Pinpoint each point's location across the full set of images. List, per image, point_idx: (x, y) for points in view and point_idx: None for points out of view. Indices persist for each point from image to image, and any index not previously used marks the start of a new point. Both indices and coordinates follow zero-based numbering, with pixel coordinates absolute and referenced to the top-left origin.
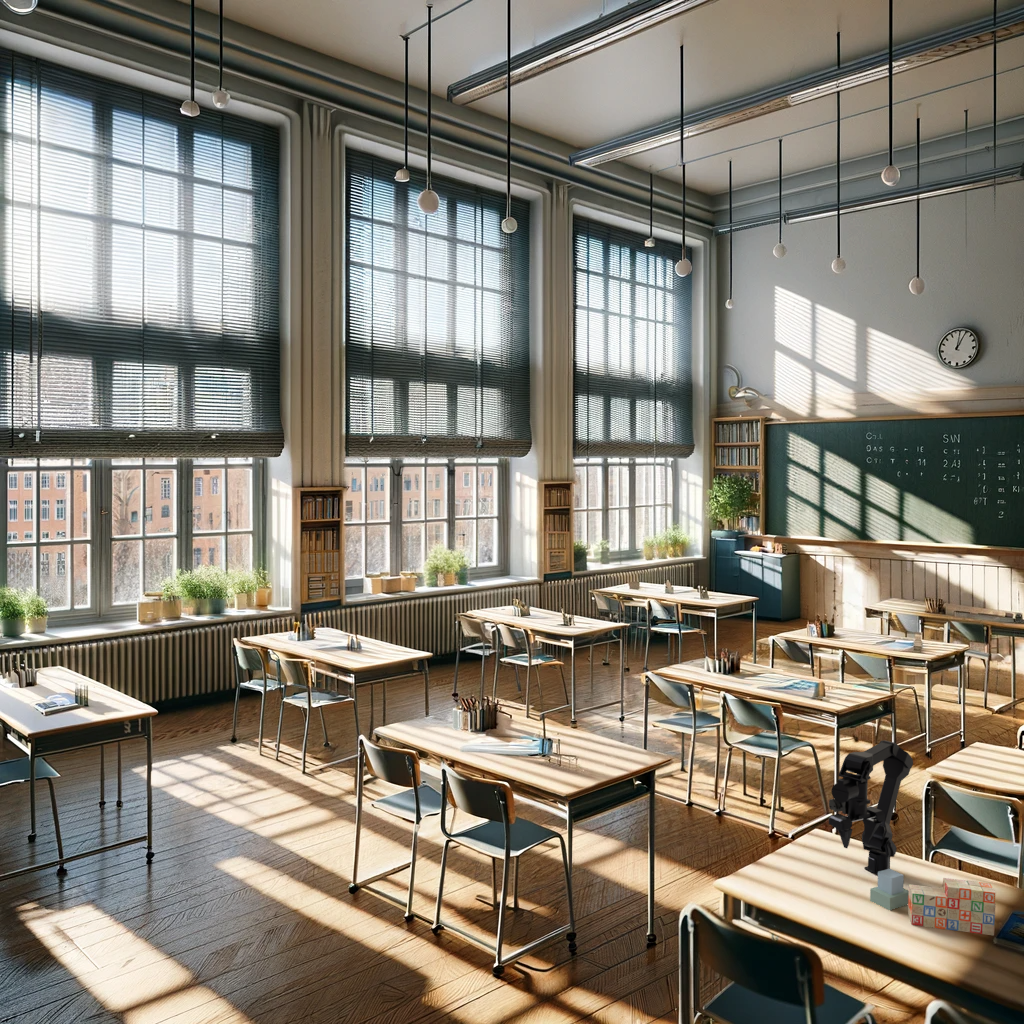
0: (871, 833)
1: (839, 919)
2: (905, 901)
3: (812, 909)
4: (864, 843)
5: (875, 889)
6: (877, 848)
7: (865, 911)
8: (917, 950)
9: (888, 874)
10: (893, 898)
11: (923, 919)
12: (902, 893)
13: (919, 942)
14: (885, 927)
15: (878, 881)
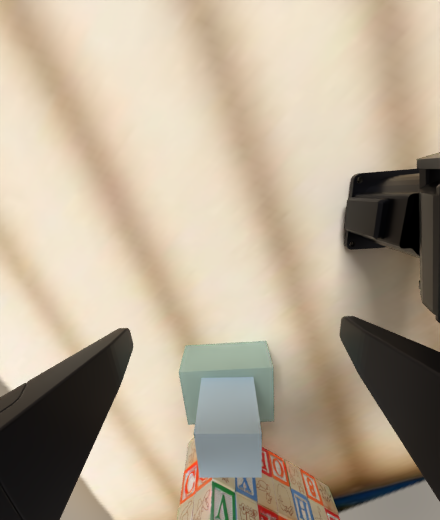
0: (406, 448)
1: None
2: None
3: (7, 325)
4: (420, 197)
5: (189, 380)
6: (420, 275)
7: (134, 376)
8: (127, 492)
9: (213, 459)
10: None
11: None
12: None
13: (151, 480)
14: (128, 432)
15: (199, 400)
